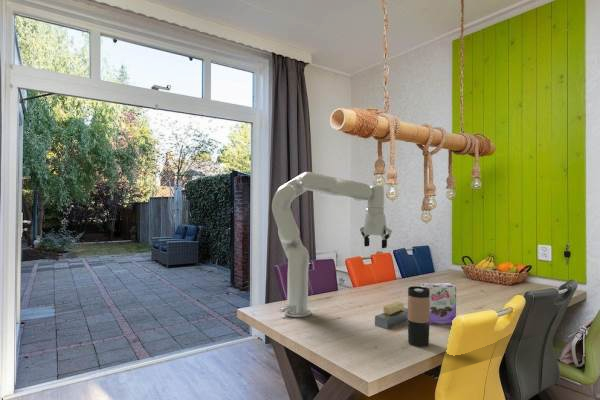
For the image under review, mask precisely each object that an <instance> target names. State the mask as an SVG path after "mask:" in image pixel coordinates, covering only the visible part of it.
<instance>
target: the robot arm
mask: <svg viewBox="0 0 600 400" xmlns="http://www.w3.org/2000/svg"><path fill="white" fill-rule="evenodd" d="M307 191H310V192H314V193H320V194H324V195H327V196H328V195H329V196H337V197H338V196H339V197H346V198H347V197H349V198H352V199H353V200H355V201H367V208H366V209H365V212H367V213H366V214H365V218H364V225H363V226H362V227H360V228H359V230H360V234H361V236H362V238H363V241H364V242H363V243H364V247H369V246H370V236H380V237H381V238H382V239H381V249H387V246H388V240H389V239H390V238H391V235H392V233H393V230H392V229H390V228H388V227H387V219H386V215H385V214H384V213H385V210H384V207H385V205H384V204H385V188H384V186H383V185H375V184H373V185H369V184H367V183H363V182H358V181H354V180H349V179H344V178H340V177H339V178H338V177H333V176H329V175H325V174H321V173H315V172H312V171H305V172H302V173H300V174H299V175H298V176H296V177H294V178H293V179H291V180H289V181H288V182H285V183H284V184H282V185H280V186H279V187H278V188H277V191H276V192H275V193H274V195H273V198H272V202H271V211H272V214H273V218H274V221H275V224H276V227H277V233H278V235H277V236H278V237H279V241H280V243H281V245H282V248H283V252H284V254H285V256H286V258H287V290H286V291H287V295H286V297H287V299H286V300H287V301H286V302H287V303H285V306H284V307H280V308H279V313H283V315H285V316H288V317H292V318H305V317H309V316H310V315H311V314H312V310H311V309H309V266H310V253H309V251H308V249H307V247H306V246H304V244H303V242H302V239H301V237H300V235H301V234H300V229H299V227H298V225H297V223H296V221H295V218H294V214H293V212H292V209H291V207H292V206H291V205H292V202H293V201H294V200H295V199H296V198H297V197H299V196H301V195H303V194H304V193H305V192H307Z"/></svg>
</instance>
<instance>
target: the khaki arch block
mask: <svg viewBox="0 0 600 400" xmlns="http://www.w3.org/2000/svg"><path fill="white" fill-rule="evenodd" d="M404 305H405V304H404V302H401V301H395V302H392V303H389V304H386V305H383V313H385V315H387V316H394V312H398V313H401V312H402V309H404V308H405V307H404Z"/></svg>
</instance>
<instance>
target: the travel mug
mask: <svg viewBox="0 0 600 400" xmlns="http://www.w3.org/2000/svg"><path fill="white" fill-rule="evenodd" d="M407 309H408V321H407V340H408V341H407V342H408V344H409V345H410V346H412V347H417V348H426V346H427V347H429V344H430V325H431V324H430V290H429V289H428V288H425V287H420V286H417V285H416V286H415V285H413V286H408V287H407Z"/></svg>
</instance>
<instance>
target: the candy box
mask: <svg viewBox="0 0 600 400" xmlns="http://www.w3.org/2000/svg"><path fill="white" fill-rule="evenodd" d="M419 285H420V286H419V287H425V288H428V289H429V290H430V325H453V324H452V320H453V319H454V318H455V317H456V318H457V286H456V285H455V284H453V283H450V282H447V283H446V282H444V283H443V282H441V283H439V282H437V283H434V282H433V283H427V282H426V283H424V282H420V284H419Z"/></svg>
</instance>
